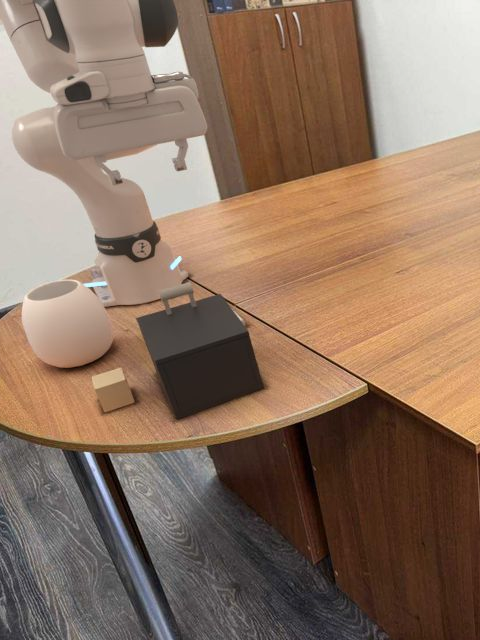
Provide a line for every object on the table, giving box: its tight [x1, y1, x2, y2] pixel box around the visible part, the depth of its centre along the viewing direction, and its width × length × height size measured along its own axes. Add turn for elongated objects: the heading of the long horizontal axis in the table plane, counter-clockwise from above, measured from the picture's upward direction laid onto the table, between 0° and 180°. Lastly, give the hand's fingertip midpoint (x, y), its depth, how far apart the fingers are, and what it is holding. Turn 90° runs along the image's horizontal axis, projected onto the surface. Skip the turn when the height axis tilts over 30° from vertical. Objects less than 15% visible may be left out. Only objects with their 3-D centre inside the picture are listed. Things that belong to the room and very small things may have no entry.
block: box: [91, 367, 136, 413], centre depth 104 cm, size 4×4×4 cm
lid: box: [135, 281, 250, 365], centre depth 102 cm, size 17×14×5 cm
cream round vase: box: [21, 279, 115, 369], centre depth 115 cm, size 13×13×14 cm
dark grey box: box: [139, 328, 265, 420], centre depth 106 cm, size 16×14×10 cm
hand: (150, 176), depth 100 cm, fingers open, 8 cm apart
